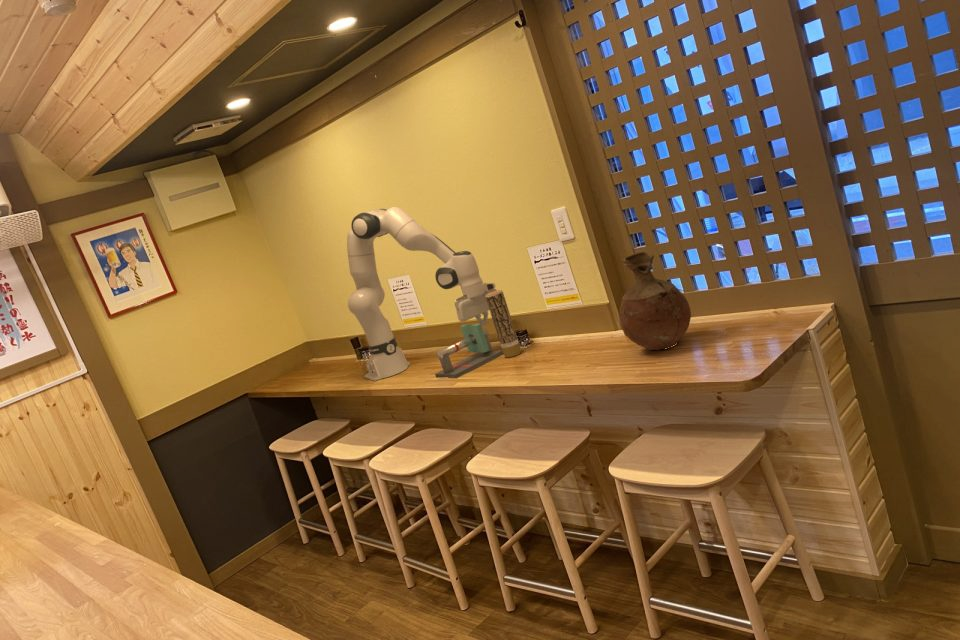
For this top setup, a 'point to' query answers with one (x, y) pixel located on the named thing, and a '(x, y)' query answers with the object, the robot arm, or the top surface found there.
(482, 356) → the base board
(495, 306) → the bark covered log
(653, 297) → the jug
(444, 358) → the pipe rig
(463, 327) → the collar
